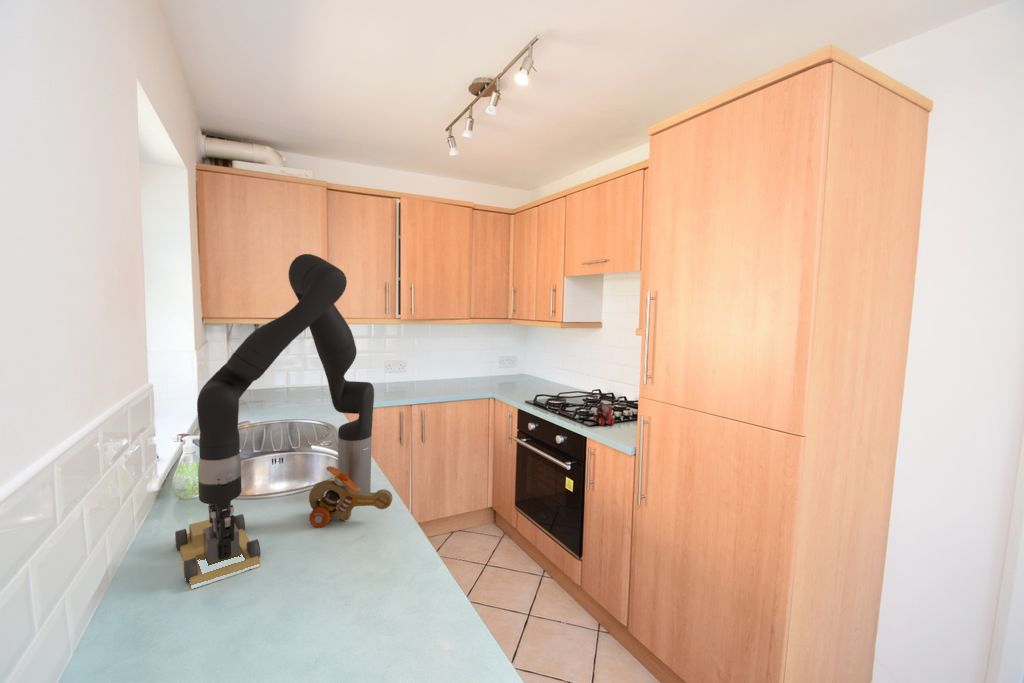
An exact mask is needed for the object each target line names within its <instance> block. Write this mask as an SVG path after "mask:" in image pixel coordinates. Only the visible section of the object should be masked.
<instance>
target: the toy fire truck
mask: <svg viewBox="0 0 1024 683" xmlns="http://www.w3.org/2000/svg"><path fill="white" fill-rule="evenodd" d="M612 410H613V407H612V405H608V404H607V403H604V402H603V401H600V402H599V404H598V405H597V408H596V412H595V414H594V415H593V422H594V421H595V422H598V423H599V424H598V423H597V424H598V425H599V426H600V427H604V425H609V426H614V425H615V419H614V417H613V416H612ZM595 422H594V423H595Z"/></svg>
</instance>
